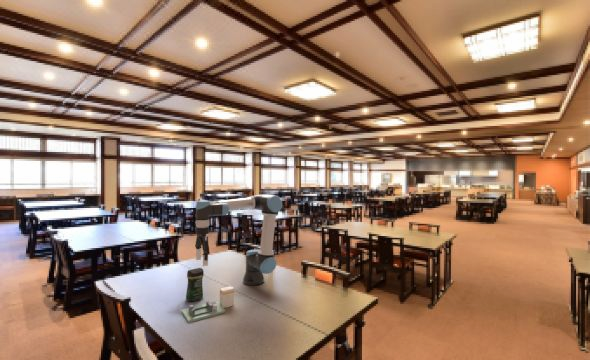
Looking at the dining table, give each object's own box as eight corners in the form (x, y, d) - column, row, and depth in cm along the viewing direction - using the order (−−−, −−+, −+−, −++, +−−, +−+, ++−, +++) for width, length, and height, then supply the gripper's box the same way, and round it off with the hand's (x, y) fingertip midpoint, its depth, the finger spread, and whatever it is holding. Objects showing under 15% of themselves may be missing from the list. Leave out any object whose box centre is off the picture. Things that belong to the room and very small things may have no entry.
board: (216, 303, 164) (216, 296, 164) (225, 312, 153) (225, 305, 153) (181, 311, 152) (181, 304, 152) (188, 322, 141) (188, 314, 141)
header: (208, 306, 156) (208, 298, 156) (212, 311, 151) (212, 303, 151) (188, 311, 150) (188, 303, 150) (192, 317, 144) (192, 308, 144)
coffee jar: (190, 303, 163) (191, 272, 163) (184, 299, 168) (184, 269, 168) (205, 298, 170) (205, 268, 170) (198, 294, 175) (199, 265, 175)
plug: (230, 302, 165) (231, 285, 165) (233, 305, 162) (234, 288, 162) (219, 305, 161) (219, 288, 161) (222, 308, 158) (222, 291, 158)
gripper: (190, 224, 169) (189, 258, 169) (202, 230, 148) (201, 269, 148) (202, 223, 173) (201, 256, 173) (215, 229, 153) (215, 267, 153)
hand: (201, 262), depth 161 cm, fingers open, 13 cm apart
